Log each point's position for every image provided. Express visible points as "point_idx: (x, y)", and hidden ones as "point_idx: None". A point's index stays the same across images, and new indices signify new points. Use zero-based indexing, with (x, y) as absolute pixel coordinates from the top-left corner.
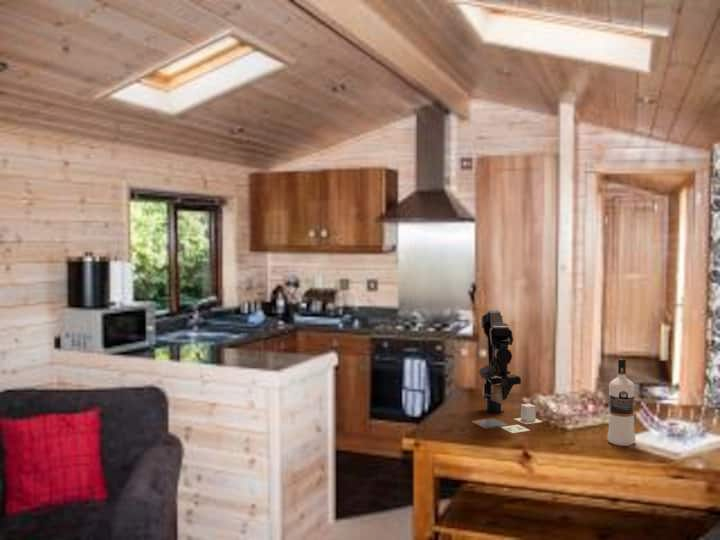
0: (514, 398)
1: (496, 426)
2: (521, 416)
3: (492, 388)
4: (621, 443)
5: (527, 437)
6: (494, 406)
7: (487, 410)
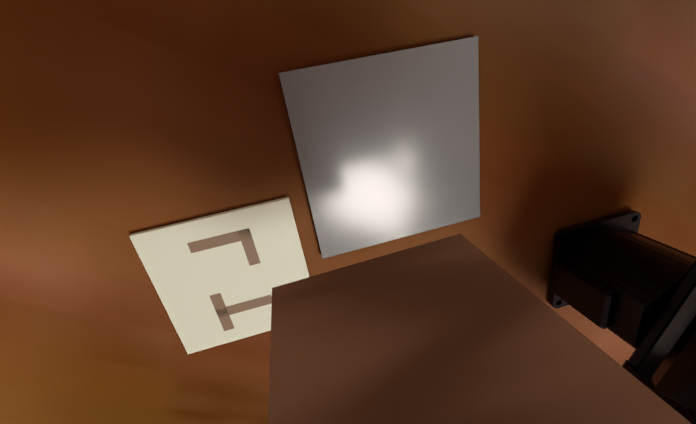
0: None
1: (304, 176)
2: None
3: (583, 414)
4: None
5: (38, 304)
6: (592, 275)
7: (603, 228)
